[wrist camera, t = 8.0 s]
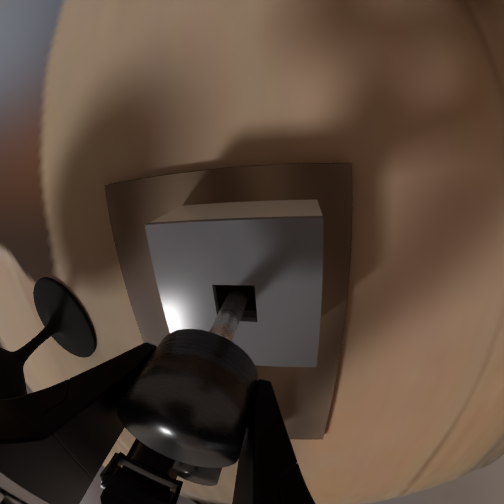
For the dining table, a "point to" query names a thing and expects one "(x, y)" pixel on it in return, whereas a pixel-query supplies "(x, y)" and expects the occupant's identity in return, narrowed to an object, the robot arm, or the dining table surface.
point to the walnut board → (333, 285)
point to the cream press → (245, 273)
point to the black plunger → (195, 393)
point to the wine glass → (48, 334)
